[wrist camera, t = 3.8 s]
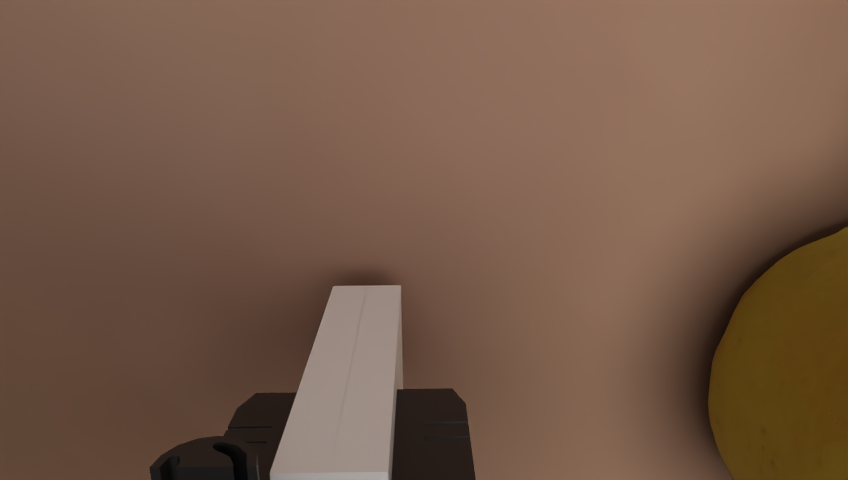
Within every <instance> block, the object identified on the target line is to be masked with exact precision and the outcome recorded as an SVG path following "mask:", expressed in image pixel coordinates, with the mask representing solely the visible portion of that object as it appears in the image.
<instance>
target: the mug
mask: <svg viewBox="0 0 848 480" xmlns="http://www.w3.org/2000/svg"><path fill="white" fill-rule="evenodd" d="M708 412H709V418H710V423H711V427H712V431H713V434H714V438H715V442H716V445H717V448H718V450H719V453H720V455H721V458H722V460H723V462H724V464H725V466H726V467H727V469H728V471H729V473H730V475H731V477H732V479H733V480H848V227H845V228H844V229H842V230H840V231H839V232H837V233H835V234H833V235H830V236H828V237H825V238H822V239H820V240H817V241H815V242H812V243H809V244H807V245H804V246H802V247H800V248H798V249H796V250H794V251H793V252H791V253H789V254H788V255H786V256H785V257H783V258H782V259H780V260H779V261H777V262H776V263H775V264H774V265H773V266H772V267H771V268H770V269H768V270H767V271H766V272H765V273H764V274H763V275H762V276H761V277H759V278H758V279H757V280H756V281H755V282H754V283H753V285H752V286H751V287H750V288H749V289H748V290H747V291H746V292H745V293H744V294H743V295H742V297H741V299H740V301H739V303H738V305H737V307H736V309H735V311H734V313H733V315H732V317H731V319H730V322H729V324H728V326H727V329H726V331H725V333H724V335H723V337H722V339H721V341H720V343H719V345H718V347H717V348H716V352H715V355H714V358H713V361H712V368H711V377H710V386H709V395H708Z"/></svg>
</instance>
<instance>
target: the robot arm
mask: <svg viewBox="0 0 848 480" xmlns="http://www.w3.org/2000/svg"><path fill="white" fill-rule="evenodd" d="M150 473H151V480H475V472H474V465H473V457H472V449H471V441H470V434H469V426H468V418H467V411H466V404H465V402H464V401H463V400H462V399H461V398H460V397H459V396H458V395H457V393H456V392H455V391H454V390H453V389H403V358H402V311H401V285H379V286H333V288H332V291H331V294H330V297H329V300H328V303H327V306H326V309H325V312H324V315H323V318H322V321H321V324H320V327H319V330H318V333H317V335H316V338H315V341H314V344H313V347H312V350H311V353H310V356H309V359H308V362H307V365H306V368H305V371H304V374H303V377H302V380H301V382H300V385H299V388H298V391H297V393H256V394H254V395H253V396H252V397H251V398H250V399H248V400H247V401H246V402H245V403H243V404H242V405H241V406H240V407H239V408H237V410H236V412H235V414H234V416H233V418H232V420H231V422H230V424H229V426H228V430H227V431H226V432H225V434H224V436H223V437H222V436H215V437H207V438H199V439H195V440H192V441H189V442H186V443H183V444H180V445H178V446H176V447H174V448H173V449H171V450H169V451H168V452H166V453H164V454H163V455H161V456H160V457H159V458H158V459H157V460H156V461H155V462H154V464H153V465H152V466H151V467H150Z"/></svg>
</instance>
